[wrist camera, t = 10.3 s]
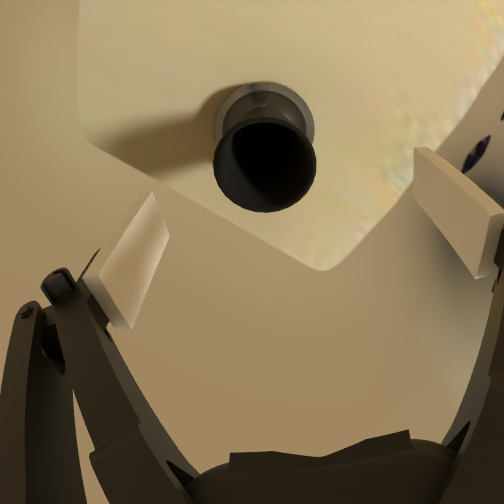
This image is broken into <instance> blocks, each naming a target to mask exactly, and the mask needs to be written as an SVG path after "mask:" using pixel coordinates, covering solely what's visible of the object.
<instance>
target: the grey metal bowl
mask: <svg viewBox="0 0 504 504" xmlns="http://www.w3.org/2000/svg"><path fill="white" fill-rule="evenodd" d="M258 107H270V108H274V109H276V110H278V111H279V112H281V113H282V114H283V115H284V116H286V117H287V118H288V119H289V120H290V121H291V122H292V123H293V124H294V125H295V126H297V127H298V128H299V129H300V130H301V131H302V132H303V133H304V134H305V136H306V137H307V138H308V139H309V141H310V143H311V145H312V143H313V139H314V129H315V128H314V121H313V117H312V114H311V112H310V109H309V108H308V106H307V104H306V103H305V102H304V100H303V99H302V98H301V97H300V96H299V95H298V94H297V93H296V92H294V91H293V90H292V89H290V88H288V87H287V86H285V85H282V84H280V83H276V82H270V81H257V82H252V83H248V84H246V85H243V86H241V87H240V88H238V89H236V90H235V91H234V92H232V93H231V94H230V95H229V96H228V97H227V98H226V99H225V101H224V102H223V103H222V105H221V106H220V108H219V110H218V112H217V115H216V119H215V123H214V136H215V140H216V144H217V146H218V143H219V141H220V140H221V139H222V137H223V136H224V135H225V134H226V132H227V131H228V130H229V129H230V128H231V127H232V126H234V125H235V124H236V123H237V122H238V121H239V120H240V119H241V118H242V117H243V116H244V115H245V114H247V113H248V112H249V111H251V110H253V109H255V108H258Z"/></svg>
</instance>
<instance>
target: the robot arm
mask: <svg viewBox="0 0 504 504" xmlns="http://www.w3.org/2000/svg"><path fill="white" fill-rule="evenodd" d="M413 197H414V199H415V200H416V201H417V202H418V204H419V205H420V206H421V207H422V209H423V210H424V211H425V212H426V213H427V215H428V216H429V217H430V218H431V219H432V221H433V222H434V223H435V225H436V226H437V227H438V228H439V230H440V231H441V232H442V234H443V235H444V236H445V237H446V239H447V240H448V241H449V243H450V244H451V245H452V247H453V248H454V250H455V251H456V252H457V254H458V255H459V256H460V258H461V259H462V261H463V262H464V263H465V265H466V266H467V268H468V269H469V271H470V272H471V273H472V275H473V276H474V278H475V279H477V278H481V277H485V276H489V275H490V274H491V270H492V267H493V264H494V263H495V264H496V265H497V267H498V268H499V270H498V273H497V276H496V279H495V282H494V285H493V288H492V292H494V293H493V298H492V303H491V307H490V312H489V316H488V320H487V325H486V328H485V332H484V336H483V340H482V343H481V347H480V350H479V354H478V357H477V360H476V363H475V366H474V369H473V372H472V375H471V378H470V381H469V384H468V387H467V389H466V392H465V395H464V397H463V400H462V402H461V405H460V407H459V410H458V412H457V415H456V417H455V419H454V421H453V424H452V426H451V428H450V429H449V431H448V433H447V434H446V436H445V438H444V439H443V441H442V443H441V444H439V443H436V442H432V441H428V440H420V439H410V434H409V430H404V431H400V432H396V433H392V434H388V435H383V436H379V437H374V438H370V439H365V440H363V441H361V442H359V443H356V444H354V445H352V446H349V447H347V448H344V449H342V450H339V451H337V452H335V453H332V454H329V455H327V456H323V457H311V456H302V455H295V454H288V453H281V452H275V451H268V452H243V453H230V459H229V463H225V464H222V465H219V466H216V467H214V468H212V469H209V470H208V471H205V472H204V473H202V474H199V473H198V472H197V470H196V469H194V467H193V466H192V465H191V464H190V463H189V462H188V461H187V460H186V459H185V457H184V456H183V455H182V453H181V452H180V451H179V449H178V448H177V446H176V445H175V443H174V442H173V440H172V439H171V438H170V436H169V435H168V433H167V432H166V430H165V429H164V427H163V426H162V424H161V423H160V421H159V419H158V418H157V416H156V415H155V413H154V412H153V410H152V408H151V407H150V405H149V404H148V402H147V400H146V399H145V397H144V395H143V394H142V392H141V390H140V388H139V387H138V385H137V383H136V382H135V380H134V378H133V376H132V375H131V373H130V371H129V369H128V367H127V365H126V364H125V362H124V360H123V358H122V356H121V354H120V352H119V351H118V348H117V346H116V345H115V343H114V341H113V339H112V337H111V335H110V333H109V332H108V330H107V329H106V327H107V324H108V322H109V321H110V323H111V324H112V325H113V327H114V328H115V330H116V331H123V330H132V329H133V326H134V323H135V321H136V318H137V315H138V312H139V310H140V307H141V305H142V302H143V300H144V297H145V294H146V292H147V289H148V287H149V284H150V282H151V279H152V277H153V274H154V272H155V270H156V267H157V265H158V262H159V260H160V258H161V255H162V253H163V251H164V248H165V246H166V244H167V241H168V239H169V237H170V236H169V233H168V231H167V228H166V226H165V223H164V221H163V218H162V215H161V213H160V210H159V207H158V205H157V202H156V200H155V197H154V194H153V191H150V192H146V193H142V194H139V195H138V197H137V198H136V199H135V201H134V202H133V203H132V205H131V206H130V207H129V209H128V210H127V211H126V213H125V214H124V216H123V217H122V219H121V220H120V221H119V223H118V224H117V226H116V227H115V229H114V230H113V231H112V233H111V234H110V236H109V237H108V239H107V240H106V242H105V243H104V244H103V246H102V247H101V248H100V249H99V250H98V251H97V252H96V253H95V254H94V255H93V257H92V258H91V260H90V263H88V265H87V266H86V269H84V271H83V272H82V274H81V275H80V277H79V279H78V280H77V282H75V280H74V279H73V277H72V276H71V274H70V272H69V270H68V269H67V268H60V269H57V270H55V271H53V272H52V273H51V274H49V275H48V276H47V277H46V278H45V279H44V280H43V282H42V284H41V290H42V291H43V293H44V294H45V295H46V297H47V298H48V300H49V301H50V303H51V304H52V305H51V306H49V307H46V308H44V309H42V308H41V306H40V305H39V303H38V302H37V301H31V302H28V303H27V304H25V305H23V307H21V308H20V310H19V311H18V313H17V314H16V317H15V320H14V324H13V329H12V333H11V337H10V342H9V346H8V351H7V356H6V361H5V367H4V373H3V379H2V386H1V394H0V504H87V500H86V496H85V490H84V485H83V480H82V474H81V468H80V461H79V455H78V447H77V439H76V429H75V419H74V406H73V390H74V394H75V397H76V399H77V403H78V405H79V408H80V411H81V414H82V416H83V419H84V422H85V425H86V427H87V430H88V432H89V435H90V437H91V439H92V442H93V444H94V448H95V451H93V452H91V453H90V456H89V459H90V462H91V465H92V467H93V470H94V472H95V474H96V476H97V479H98V481H99V483H100V485H101V487H102V489H103V491H104V494H105V496H106V498H107V499H108V501H109V503H110V504H504V205H503V204H502V203H500V201H499V200H498V199H497V198H494V196H493V195H492V194H491V193H490V192H488V191H487V190H485V189H483V188H481V187H479V186H477V185H475V184H474V183H473V182H472V181H471V180H469V179H468V178H467V177H466V176H465V175H463V174H462V173H461V172H460V171H458V170H457V169H456V168H455V167H453V166H452V165H451V164H449V163H448V162H447V161H445V160H444V159H443V158H441V157H440V156H439V155H437V154H436V153H435V152H433V151H432V150H431V149H429V148H428V147H417V148H414V184H413Z"/></svg>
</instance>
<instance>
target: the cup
mask: <svg viewBox="0 0 504 504" xmlns="http://www.w3.org/2000/svg"><path fill="white" fill-rule="evenodd" d="M213 169H214V176H215V178H216V181H217V184H218V186H219V188H220V189H221V190H222V192H223V193H224V195H225V196H226V197H227V198H229V199H230V200H231V201H232V202H233V203H235V204H236V205H238V206H240V207H242V208H244V209H247V210H250V211H254V212H264V213H269V212H276V211H280V210H283V209H286V208H288V207H290V206H292V205H294V204H295V203H297V202H298V201H300V200H301V199H302V197H303V196H304V195H305V194H306V193H307V192H308V190H309V189H310V187H311V185H312V184H313V181H314V178H315V174H316V156H315V152H314V148H313V147H312V145H311V143H310V141H309V139H308V138H307V137H306V136H305V134H304V133H303V132H302V131H301V130H300V129H299V128H298V127H297V126H295V125H294V124H293V123H292V122H291V121H290V120H289V119H288V118H287V117H286V116H284V115H283V114H282V113H281V112H279V111H278V110H276V109H274V108H270V107H258V108H255V109H253V110H251V111H249V112H248V113H247V114H245V115H244V116H243V117H242V118H241V119H240V120H239V121H238V122H237V123H236V124H235V125H234V126H232V127H231V128H230V129H229V130H228V131H227V132H226V134H225V135H224V136H223V137H222V139H221V140H220V141H219V143H218V146H217V148H216V150H215V153H214V160H213Z"/></svg>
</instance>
